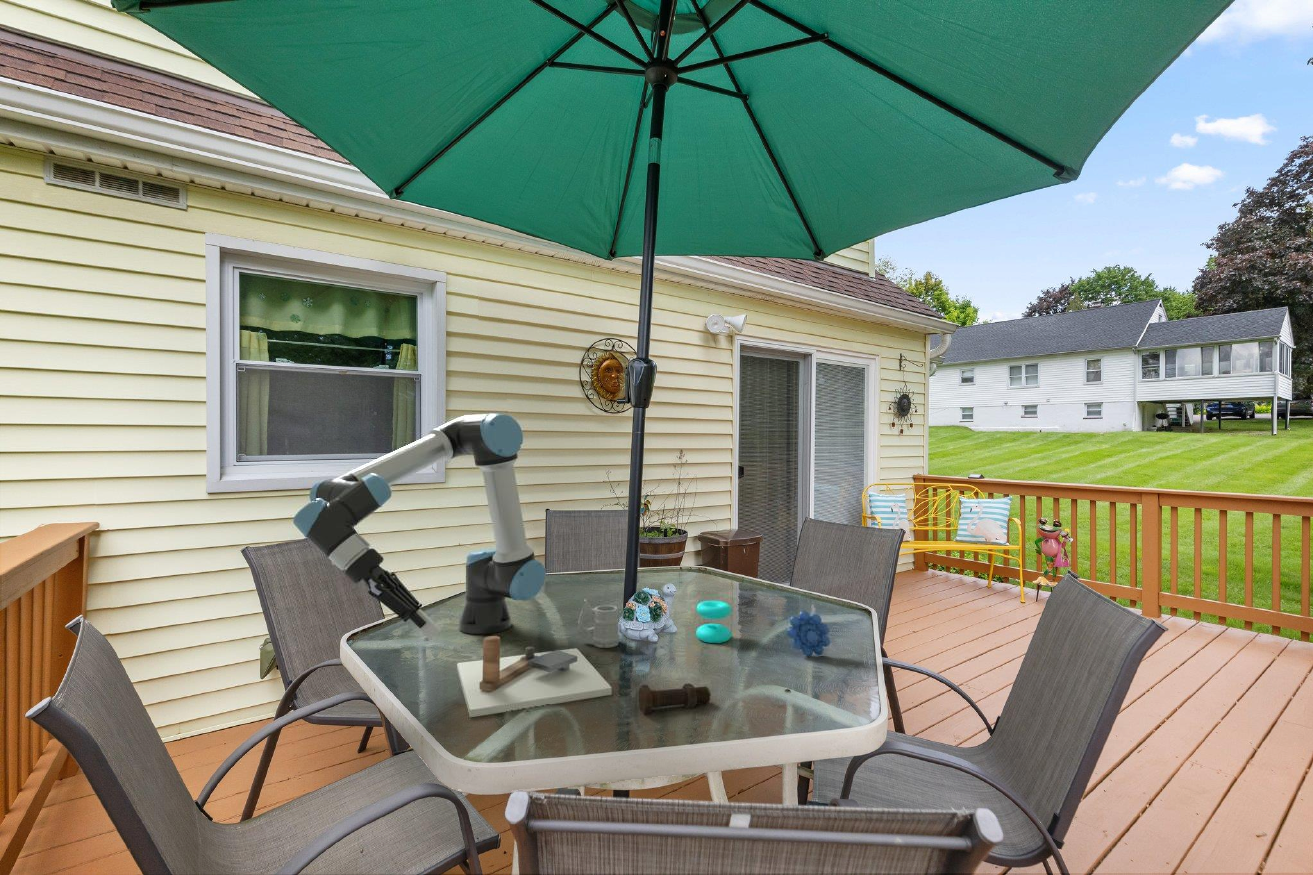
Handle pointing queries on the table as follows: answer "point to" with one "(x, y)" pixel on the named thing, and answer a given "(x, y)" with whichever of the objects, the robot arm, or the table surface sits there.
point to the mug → (600, 625)
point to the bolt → (672, 697)
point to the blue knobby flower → (808, 633)
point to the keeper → (553, 661)
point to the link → (492, 665)
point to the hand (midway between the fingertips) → (435, 634)
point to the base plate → (531, 686)
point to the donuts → (713, 631)
